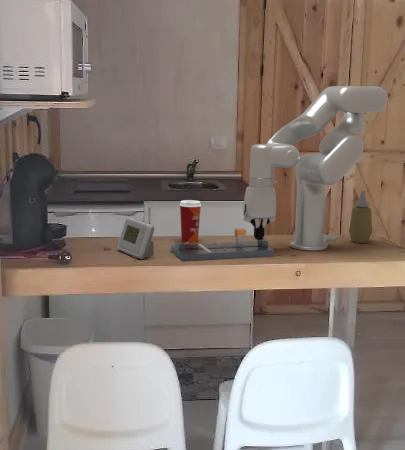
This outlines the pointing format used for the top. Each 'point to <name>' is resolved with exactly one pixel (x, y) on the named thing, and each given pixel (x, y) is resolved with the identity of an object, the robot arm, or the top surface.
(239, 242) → the fader tab
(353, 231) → the squeeze bottle
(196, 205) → the paper cup
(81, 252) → the top surface
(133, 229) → the digital clock
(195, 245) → the grey slider board
